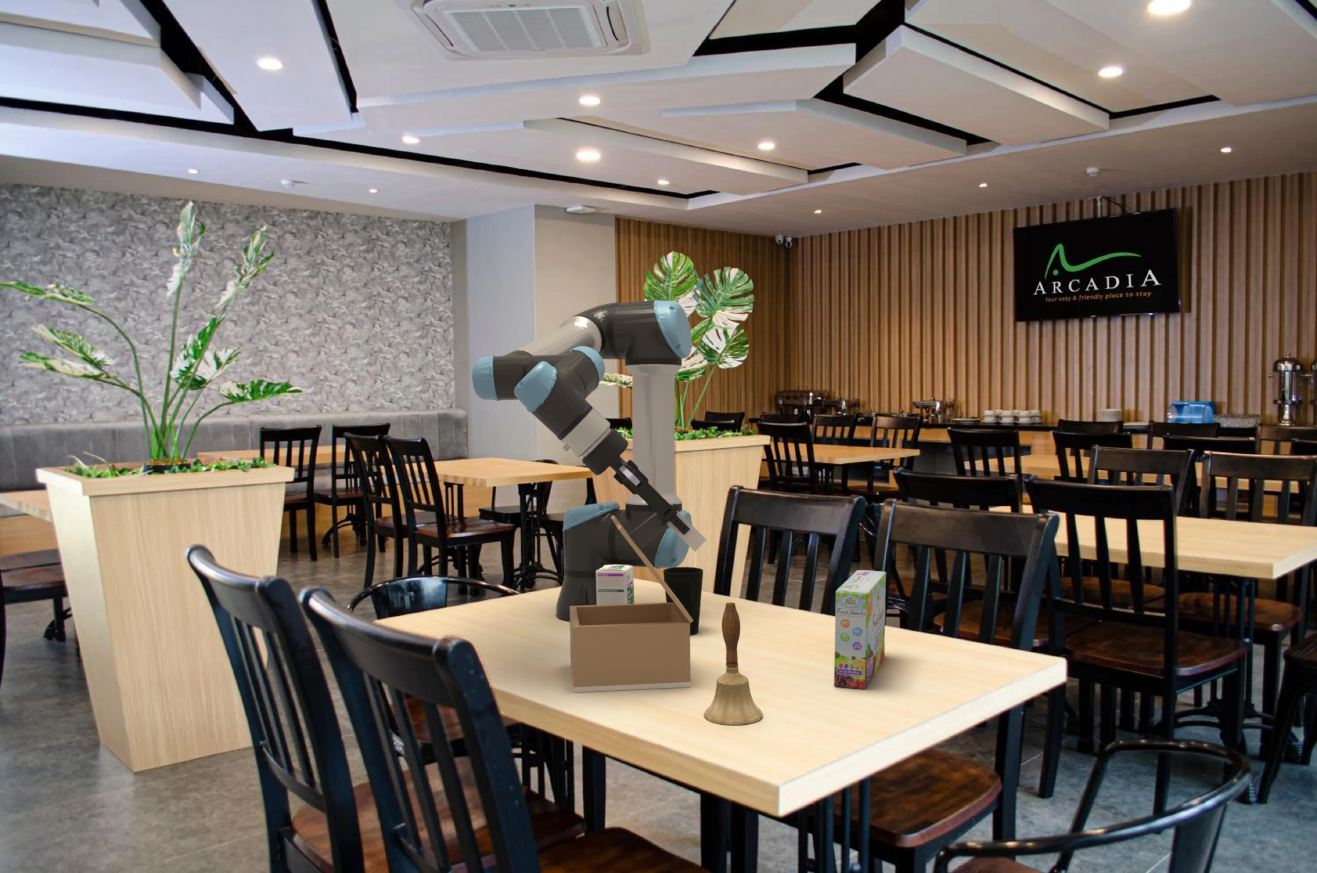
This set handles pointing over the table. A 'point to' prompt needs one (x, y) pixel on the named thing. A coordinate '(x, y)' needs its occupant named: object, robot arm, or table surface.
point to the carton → (629, 647)
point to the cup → (686, 591)
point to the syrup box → (615, 585)
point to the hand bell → (732, 681)
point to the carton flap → (641, 539)
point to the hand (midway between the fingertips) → (699, 544)
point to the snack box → (859, 628)
